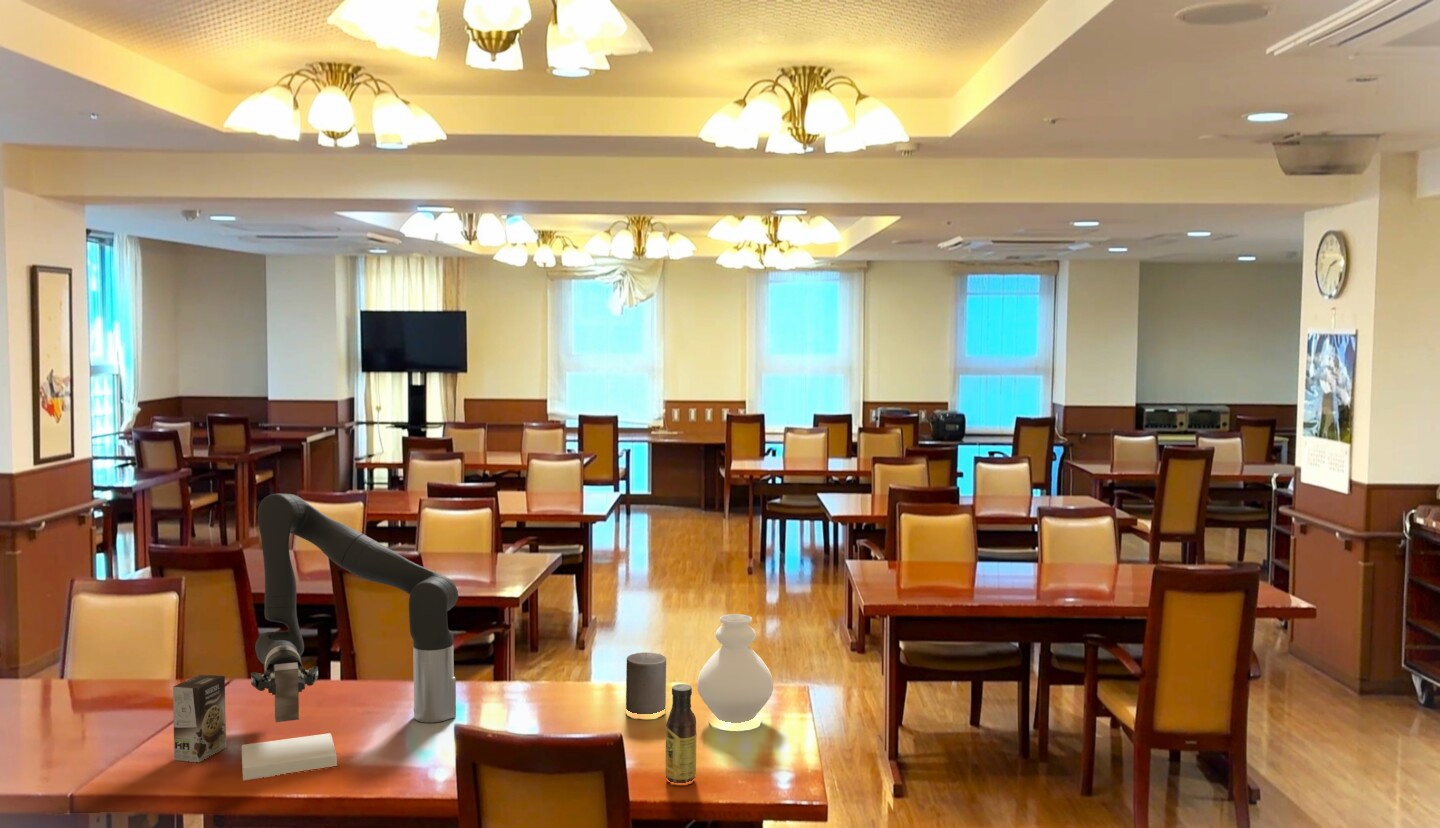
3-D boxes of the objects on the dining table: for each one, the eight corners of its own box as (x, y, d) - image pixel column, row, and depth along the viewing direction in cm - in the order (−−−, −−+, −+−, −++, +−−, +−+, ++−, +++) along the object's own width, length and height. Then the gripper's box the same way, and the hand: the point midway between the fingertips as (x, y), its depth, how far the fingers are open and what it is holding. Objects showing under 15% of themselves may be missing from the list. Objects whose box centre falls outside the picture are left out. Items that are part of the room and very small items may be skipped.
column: (297, 712, 232) (297, 662, 231) (298, 719, 228) (298, 668, 227) (274, 715, 230) (274, 664, 229) (275, 722, 226) (275, 670, 225)
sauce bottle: (664, 775, 224) (665, 681, 222) (695, 775, 224) (695, 680, 223) (665, 788, 217) (666, 691, 216) (697, 788, 218) (697, 690, 216)
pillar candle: (617, 715, 260) (618, 654, 258) (641, 704, 268) (642, 644, 267) (650, 723, 254) (651, 661, 253) (674, 711, 263) (674, 651, 262)
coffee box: (199, 763, 228) (198, 688, 227) (173, 760, 230) (171, 686, 229) (227, 747, 237) (226, 675, 236) (201, 745, 239) (200, 673, 238)
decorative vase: (767, 738, 245) (768, 629, 244) (690, 733, 248) (691, 625, 247) (776, 712, 263) (778, 610, 261) (704, 707, 266) (705, 607, 264)
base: (330, 744, 240) (330, 733, 240) (336, 766, 227) (336, 755, 227) (241, 756, 232) (241, 745, 232) (242, 780, 220) (242, 768, 219)
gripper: (248, 652, 238) (249, 675, 223) (317, 646, 244) (323, 667, 229) (248, 686, 239) (250, 710, 223) (317, 678, 245) (323, 702, 229)
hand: (287, 688), depth 226 cm, fingers closed on column, 4 cm apart
